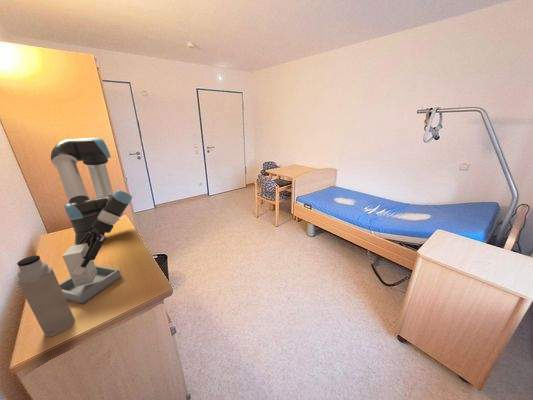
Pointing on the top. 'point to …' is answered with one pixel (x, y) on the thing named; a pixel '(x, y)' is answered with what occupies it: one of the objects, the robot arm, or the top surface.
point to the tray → (90, 285)
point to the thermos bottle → (44, 295)
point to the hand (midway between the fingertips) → (73, 269)
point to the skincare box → (73, 260)
